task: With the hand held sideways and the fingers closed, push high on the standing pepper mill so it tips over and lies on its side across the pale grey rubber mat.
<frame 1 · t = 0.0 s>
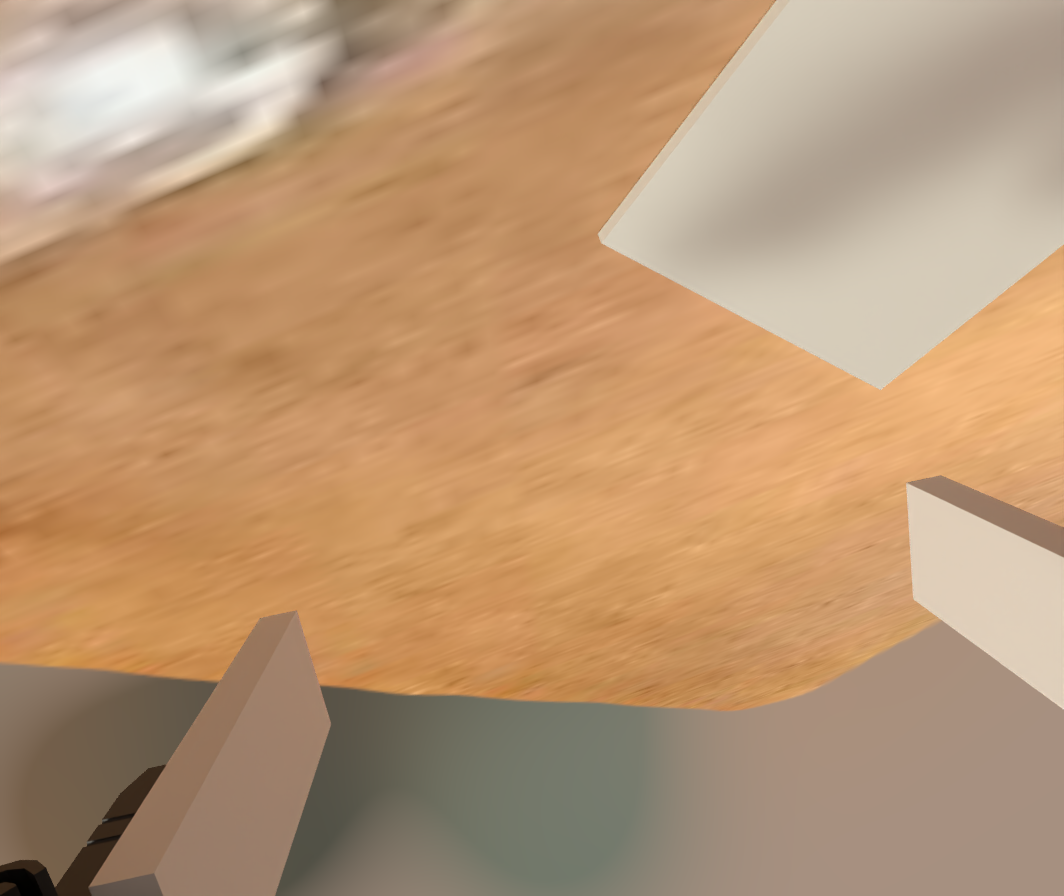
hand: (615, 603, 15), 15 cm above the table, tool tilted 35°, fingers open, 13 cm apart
grey rubber mat: (915, 163, 26), on the table
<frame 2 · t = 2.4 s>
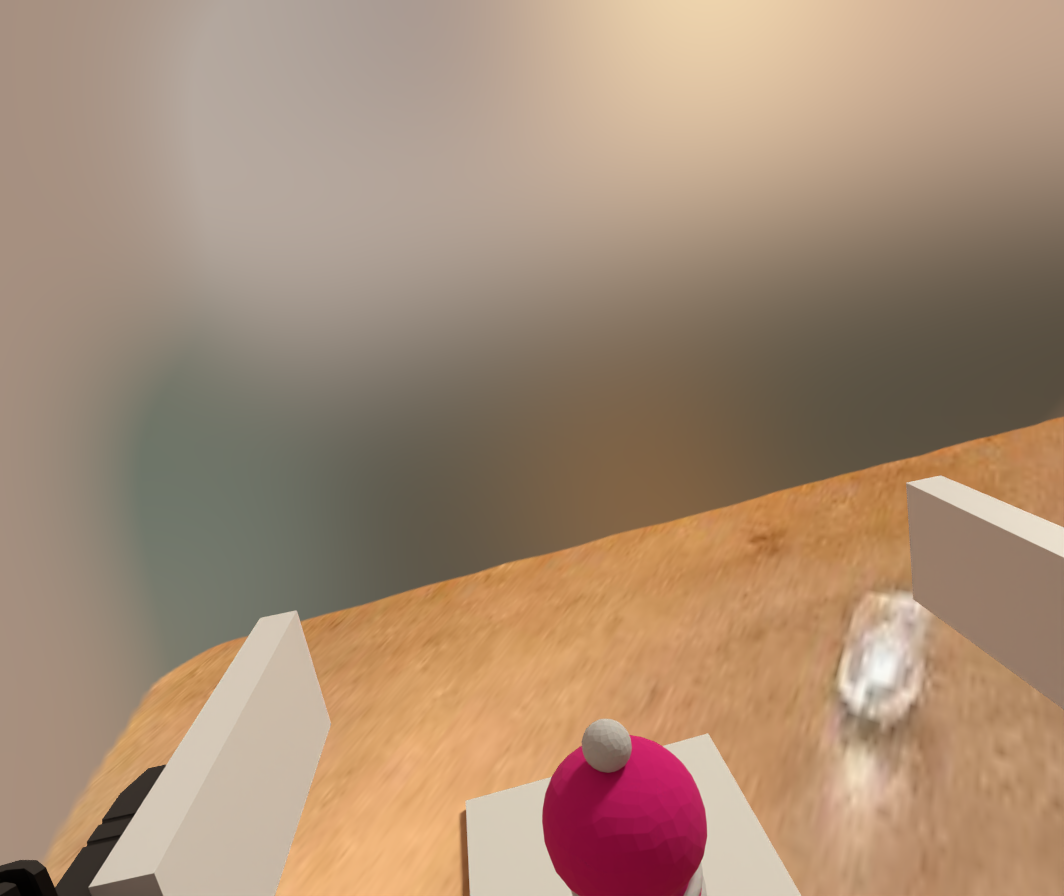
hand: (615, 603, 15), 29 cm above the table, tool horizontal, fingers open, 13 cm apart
grey rubber mat: (616, 864, 43), on the table
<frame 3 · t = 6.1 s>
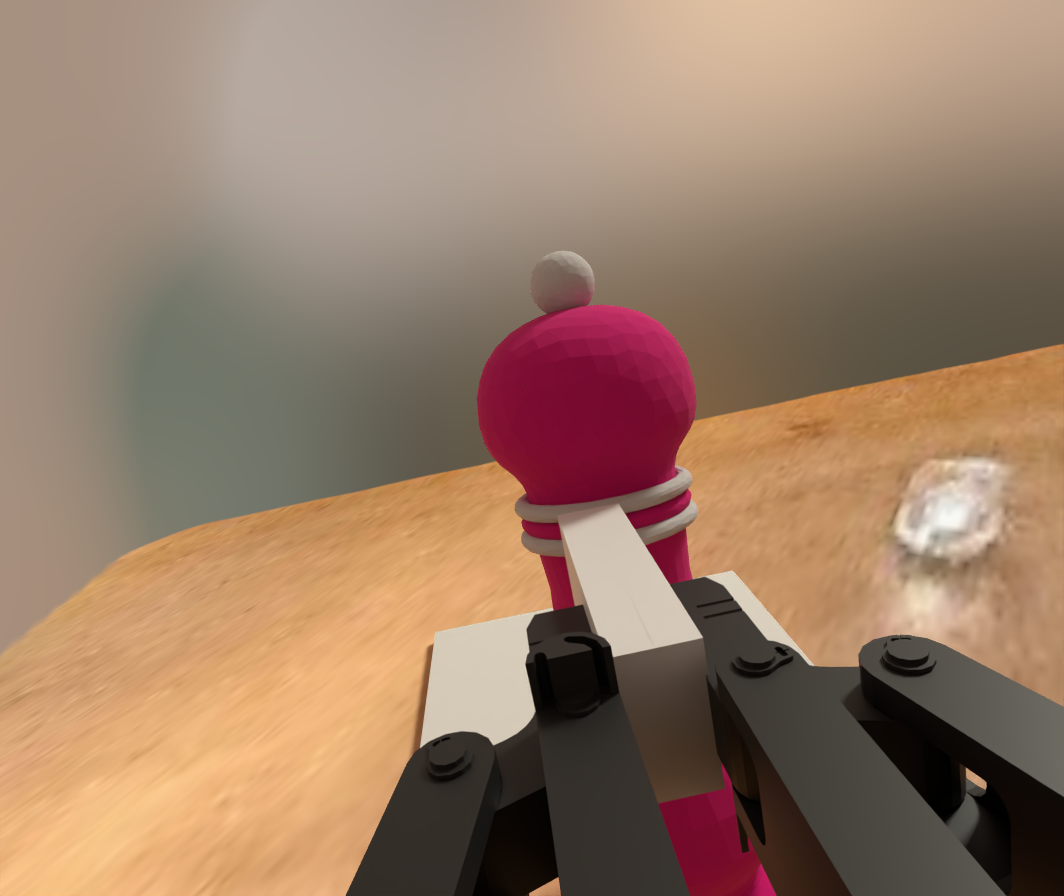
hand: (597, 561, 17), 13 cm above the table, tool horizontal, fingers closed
grey rubber mat: (610, 686, 34), on the table
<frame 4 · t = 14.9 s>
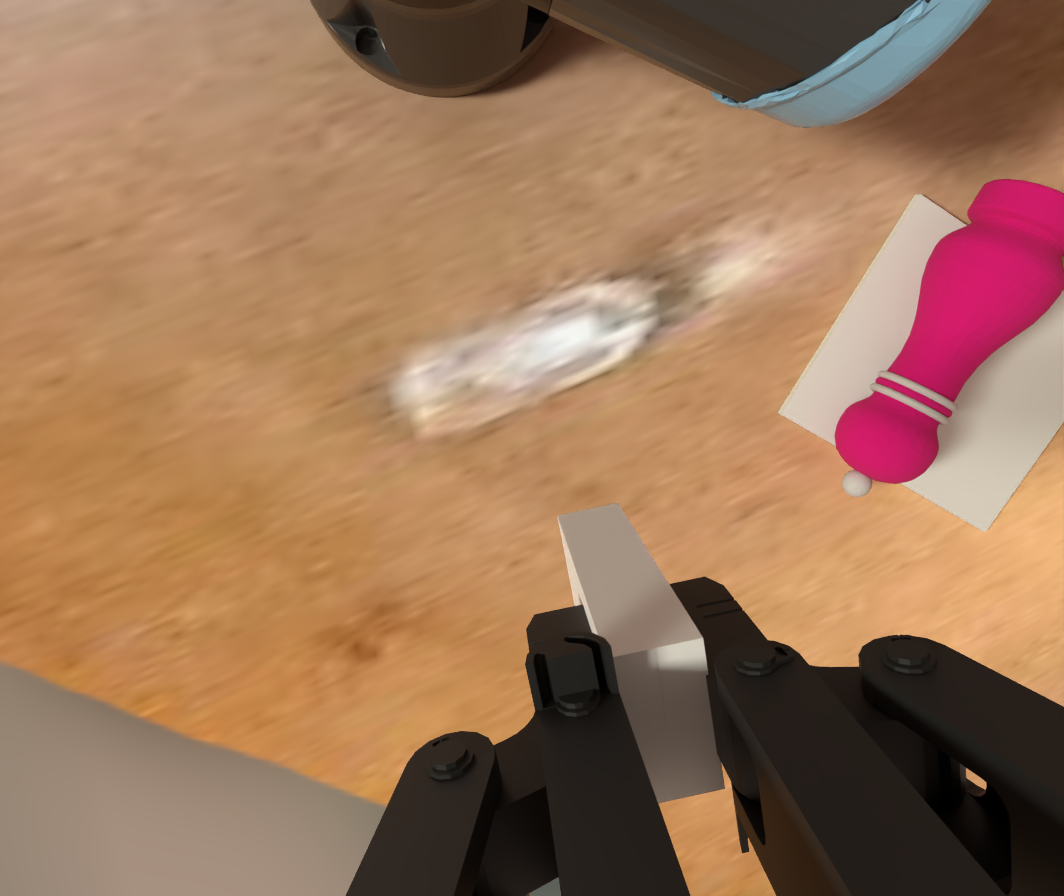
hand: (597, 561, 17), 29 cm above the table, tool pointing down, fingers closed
pepper mill: (1040, 200, 41), point 4 cm above the table, touching grey rubber mat
grey rubber mat: (949, 372, 48), on the table
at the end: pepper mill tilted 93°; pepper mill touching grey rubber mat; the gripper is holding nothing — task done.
